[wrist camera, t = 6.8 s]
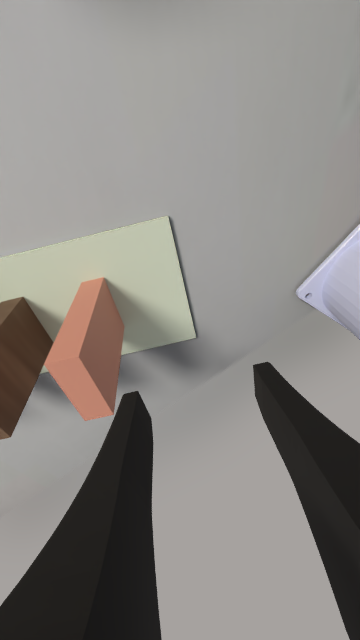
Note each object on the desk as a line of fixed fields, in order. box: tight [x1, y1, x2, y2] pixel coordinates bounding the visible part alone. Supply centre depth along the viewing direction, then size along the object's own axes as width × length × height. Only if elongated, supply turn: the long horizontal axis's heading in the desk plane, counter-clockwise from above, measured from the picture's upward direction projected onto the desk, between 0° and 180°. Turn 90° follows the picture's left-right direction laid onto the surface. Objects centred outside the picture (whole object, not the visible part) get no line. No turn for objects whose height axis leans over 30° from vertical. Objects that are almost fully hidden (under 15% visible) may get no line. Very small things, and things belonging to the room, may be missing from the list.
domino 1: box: [0, 297, 54, 439], centre depth 16 cm, size 2×4×8 cm, turn 12°
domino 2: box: [44, 277, 125, 421], centre depth 16 cm, size 2×4×8 cm, turn 12°
